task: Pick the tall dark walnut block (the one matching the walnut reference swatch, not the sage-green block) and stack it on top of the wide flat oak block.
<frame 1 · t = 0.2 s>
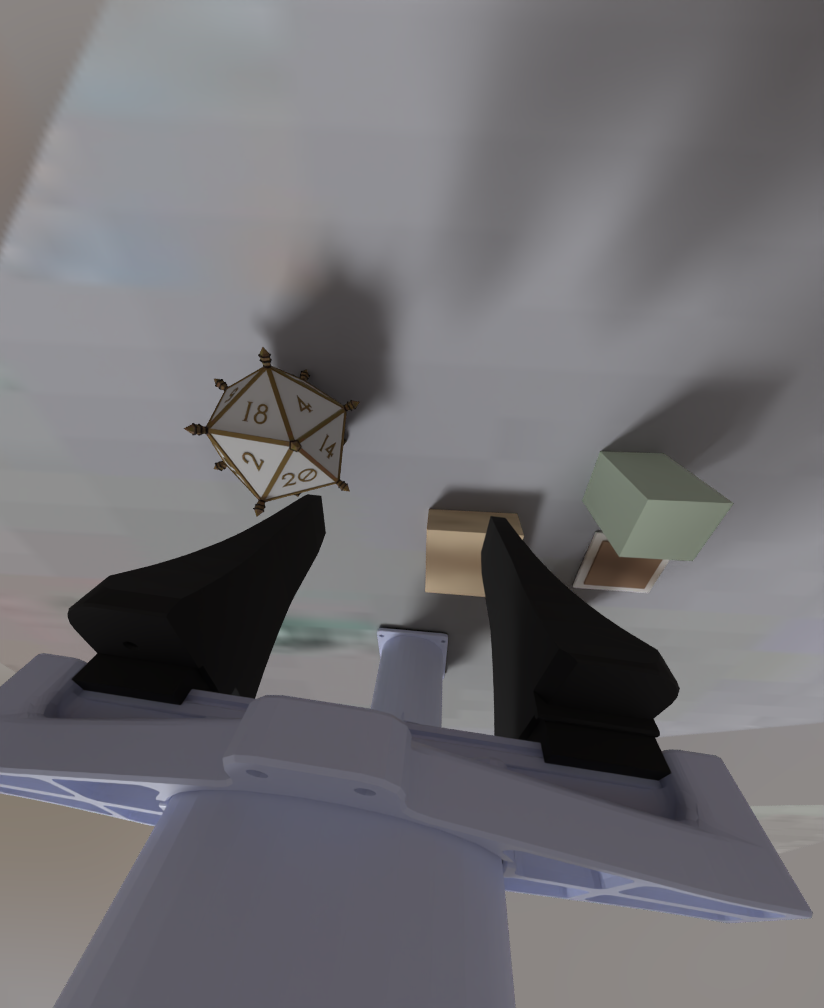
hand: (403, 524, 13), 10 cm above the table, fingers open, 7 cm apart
game die: (310, 414, 21), on the table
oak base block: (468, 541, 26), on the table
sage green block: (620, 478, 21), on the table
reference swatch: (622, 563, 25), on the table
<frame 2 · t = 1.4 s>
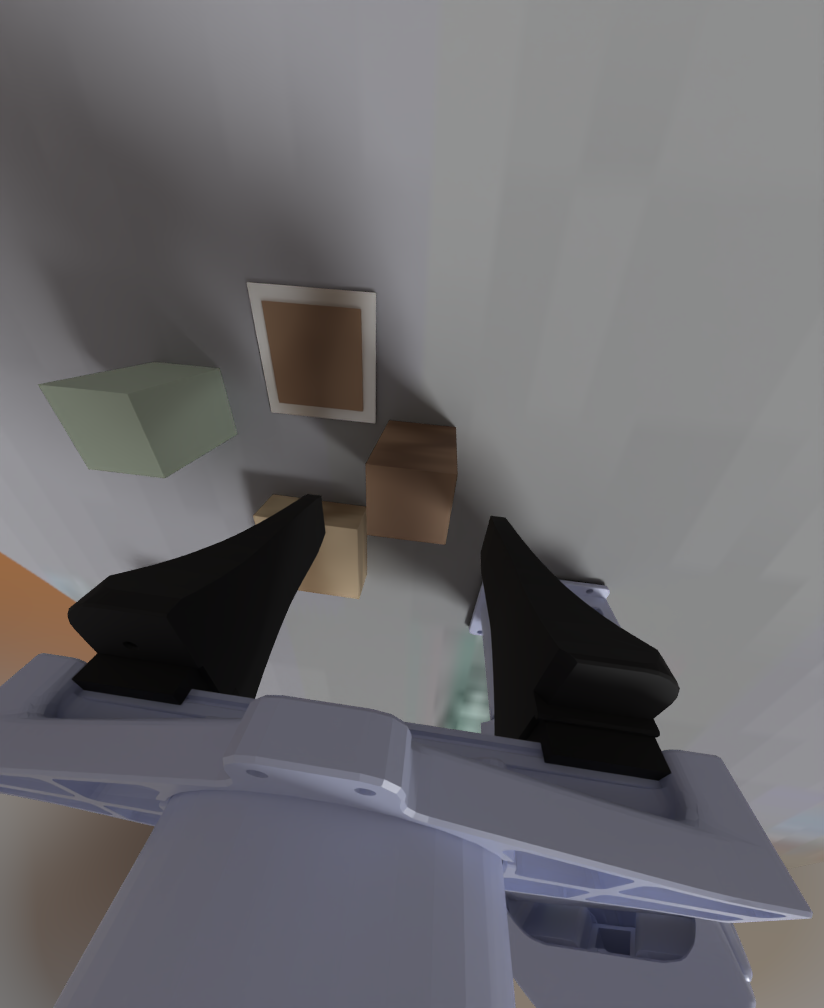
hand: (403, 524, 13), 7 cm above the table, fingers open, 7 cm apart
oak base block: (324, 534, 24), on the table
walnut block: (419, 454, 19), on the table
sage green block: (198, 400, 19), on the table
reference swatch: (318, 359, 16), on the table
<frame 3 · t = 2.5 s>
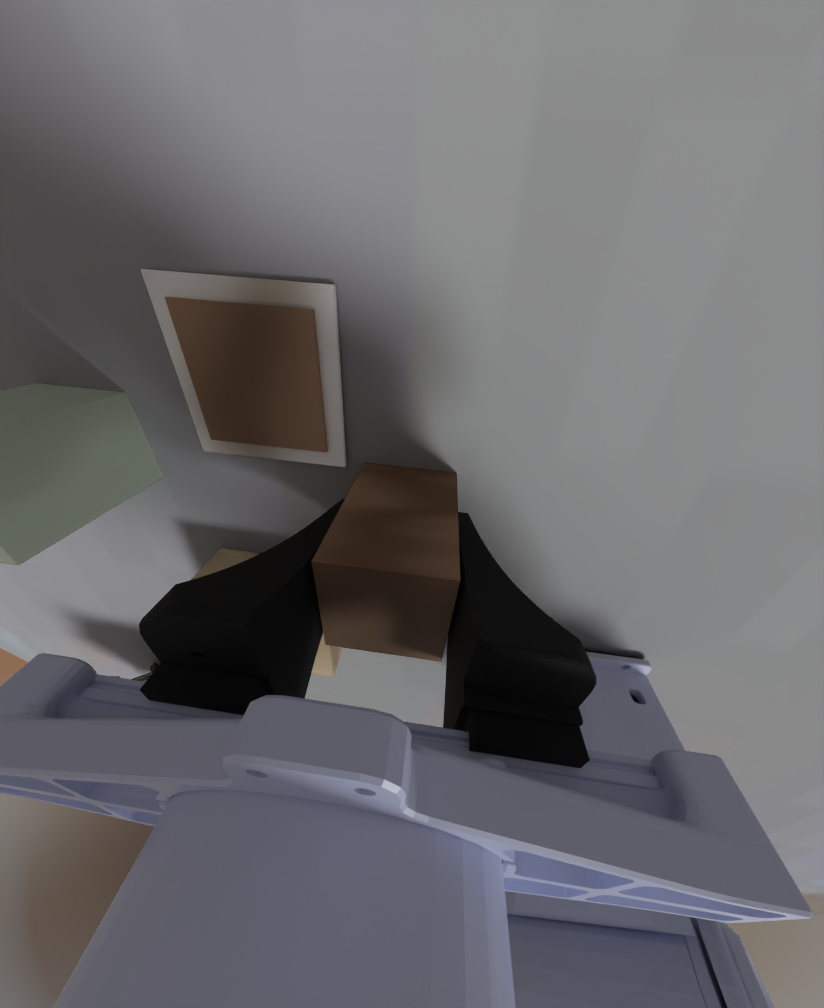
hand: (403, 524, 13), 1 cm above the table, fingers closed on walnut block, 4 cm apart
oak base block: (291, 592, 19), on the table
walnut block: (407, 506, 14), on the table, touching gripper
sage green block: (105, 433, 14), on the table
reference swatch: (260, 381, 12), on the table
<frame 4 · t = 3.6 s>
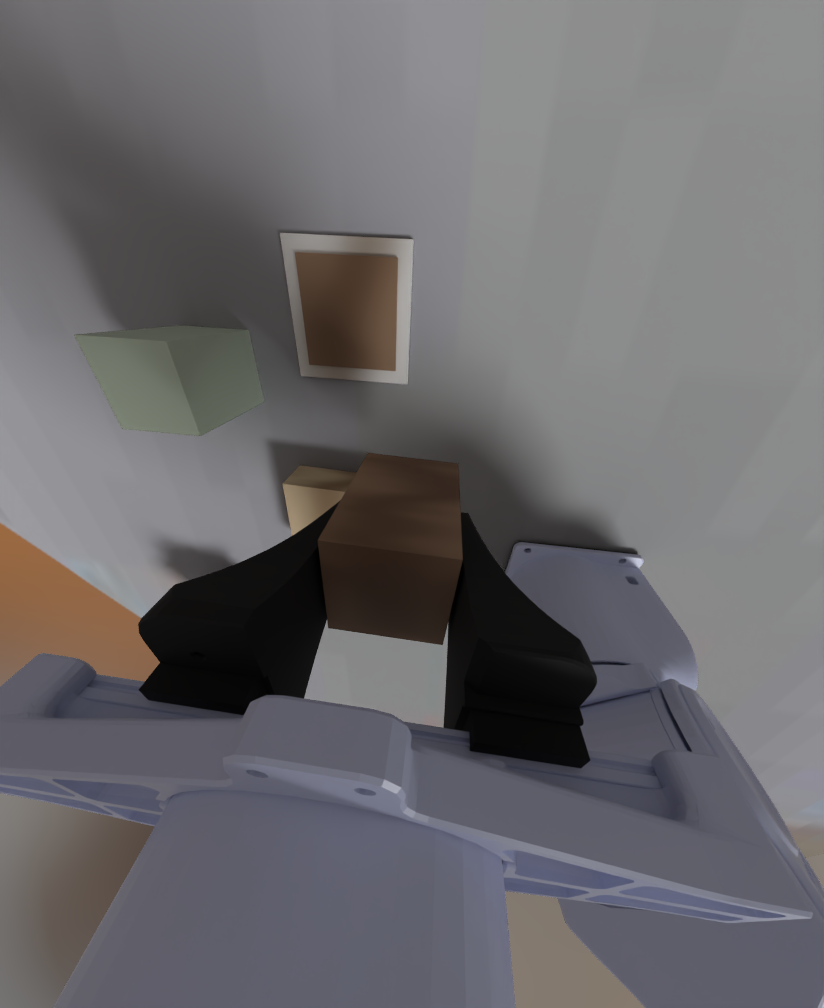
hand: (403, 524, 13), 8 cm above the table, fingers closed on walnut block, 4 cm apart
oak base block: (350, 508, 24), on the table
walnut block: (409, 496, 14), point 7 cm above the table, touching gripper
sage green block: (225, 365, 18), on the table
reference swatch: (351, 316, 16), on the table
when the fingers open (6 cm above the table, at t = 4.9 s): walnut block drops 1 cm, resting on oak base block.
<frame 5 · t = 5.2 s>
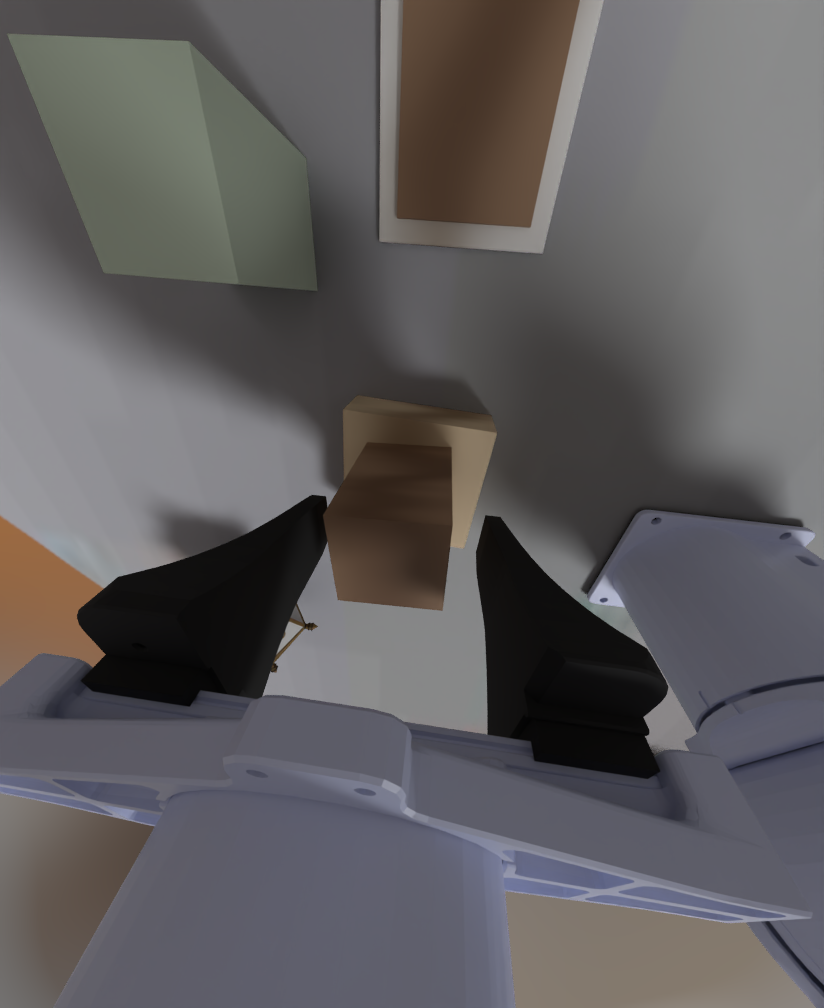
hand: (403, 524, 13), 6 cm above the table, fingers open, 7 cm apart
game die: (274, 579, 25), on the table
oak base block: (416, 462, 18), on the table, touching walnut block
walnut block: (408, 481, 15), point 3 cm above the table, touching oak base block
sage green block: (264, 227, 12), on the table
reference swatch: (474, 124, 10), on the table
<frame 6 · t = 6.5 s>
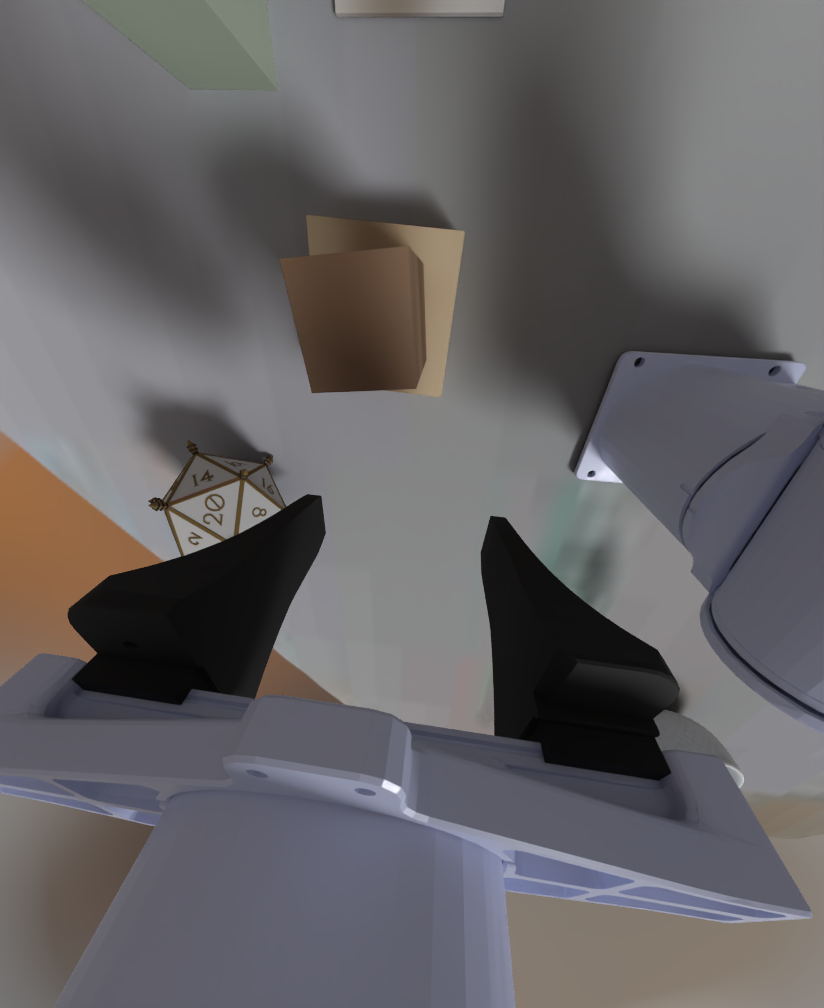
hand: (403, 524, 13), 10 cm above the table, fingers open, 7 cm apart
game die: (258, 479, 25), on the table
oak base block: (391, 315, 17), on the table, touching walnut block
walnut block: (385, 318, 15), point 3 cm above the table, touching oak base block
cereal bowl: (622, 713, 40), on the table
sage green block: (219, 10, 12), on the table
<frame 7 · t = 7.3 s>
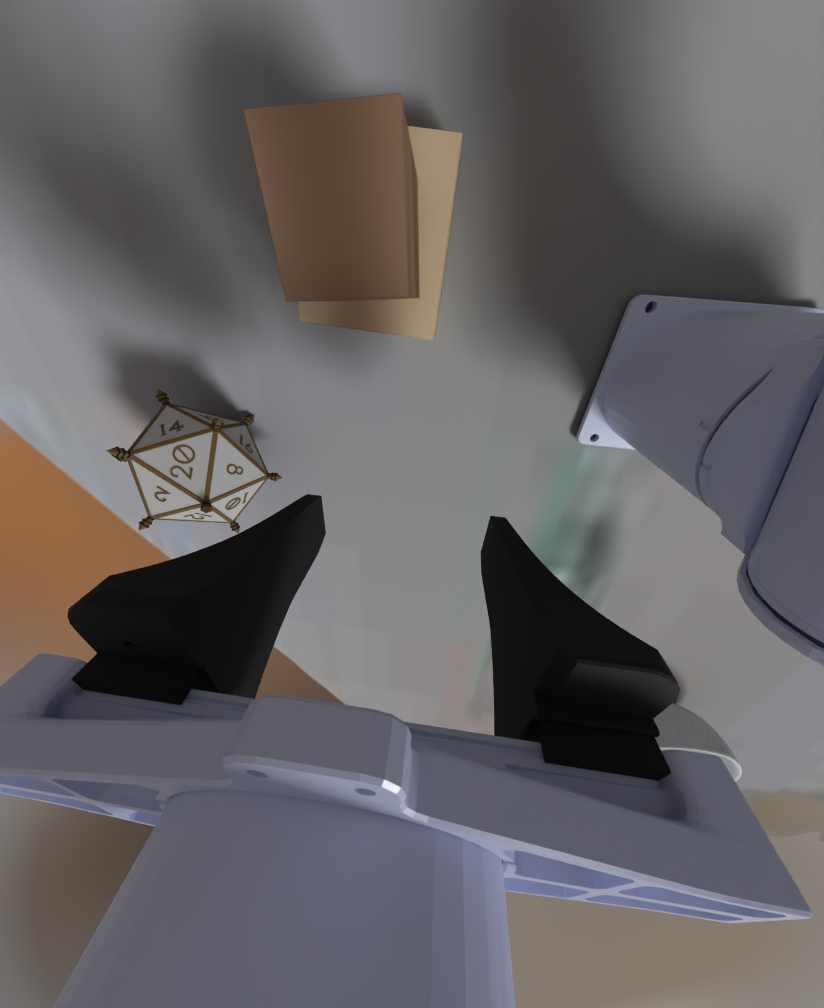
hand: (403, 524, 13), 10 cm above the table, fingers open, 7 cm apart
game die: (239, 442, 23), on the table
oak base block: (381, 250, 16), on the table
walnut block: (374, 245, 13), point 3 cm above the table
cereal bowl: (616, 704, 38), on the table
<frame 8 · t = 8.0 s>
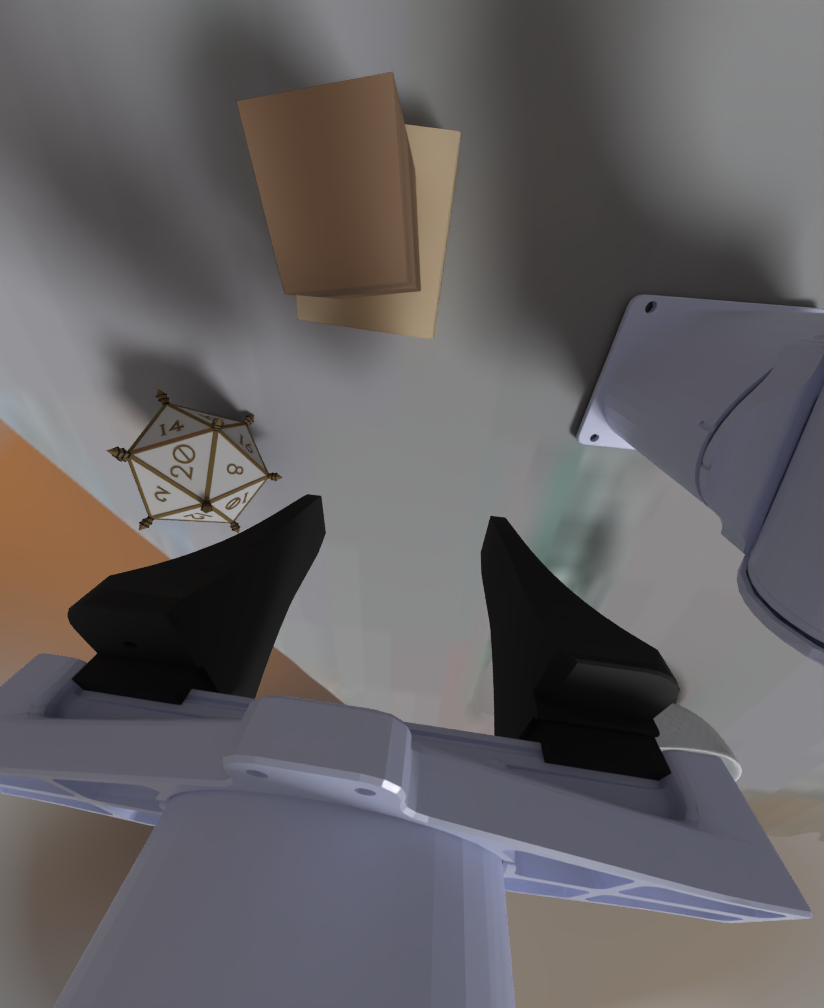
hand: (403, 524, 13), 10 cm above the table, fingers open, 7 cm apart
game die: (239, 442, 23), on the table
oak base block: (379, 249, 16), on the table
walnut block: (373, 240, 13), point 3 cm above the table
cereal bowl: (616, 704, 38), on the table
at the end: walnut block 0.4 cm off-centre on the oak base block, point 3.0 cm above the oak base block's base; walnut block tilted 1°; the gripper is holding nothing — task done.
